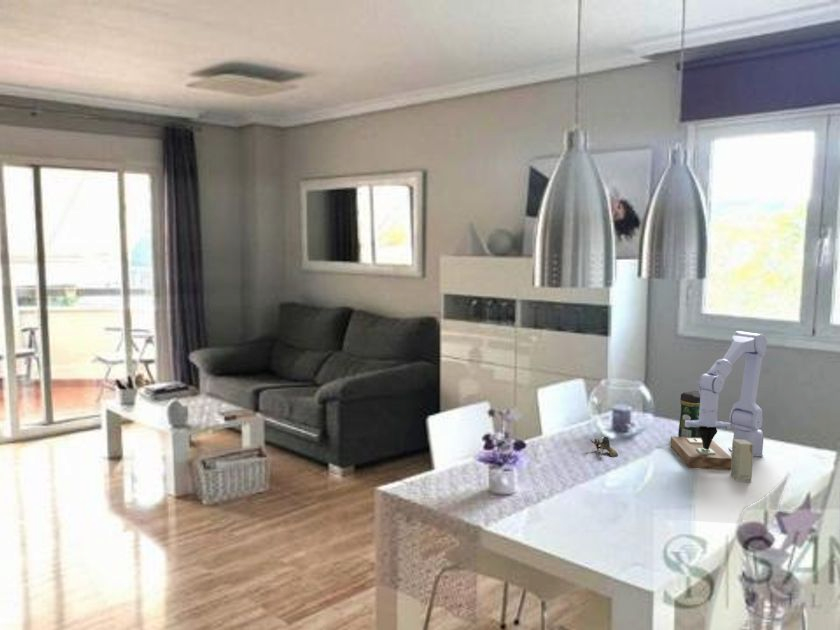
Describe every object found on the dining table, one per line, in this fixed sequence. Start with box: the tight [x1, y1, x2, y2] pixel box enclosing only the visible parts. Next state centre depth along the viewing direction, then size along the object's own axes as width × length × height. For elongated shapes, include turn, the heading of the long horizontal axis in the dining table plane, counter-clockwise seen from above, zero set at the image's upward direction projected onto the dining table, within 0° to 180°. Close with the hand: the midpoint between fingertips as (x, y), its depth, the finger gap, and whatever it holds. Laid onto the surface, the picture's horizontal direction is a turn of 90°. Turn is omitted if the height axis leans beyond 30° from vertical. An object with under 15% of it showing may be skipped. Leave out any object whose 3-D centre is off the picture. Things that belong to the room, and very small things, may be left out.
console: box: [669, 436, 732, 471], centre depth 247 cm, size 14×24×4 cm, turn 175°
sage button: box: [696, 448, 715, 455], centre depth 241 cm, size 5×5×4 cm
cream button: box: [686, 438, 703, 444], centre depth 253 cm, size 5×5×4 cm
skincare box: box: [730, 438, 754, 483], centre depth 227 cm, size 6×4×12 cm
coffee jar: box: [677, 390, 701, 438], centre depth 271 cm, size 10×8×19 cm
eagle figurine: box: [589, 436, 619, 458], centre depth 250 cm, size 8×7×9 cm
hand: (705, 448), depth 241 cm, fingers closed
